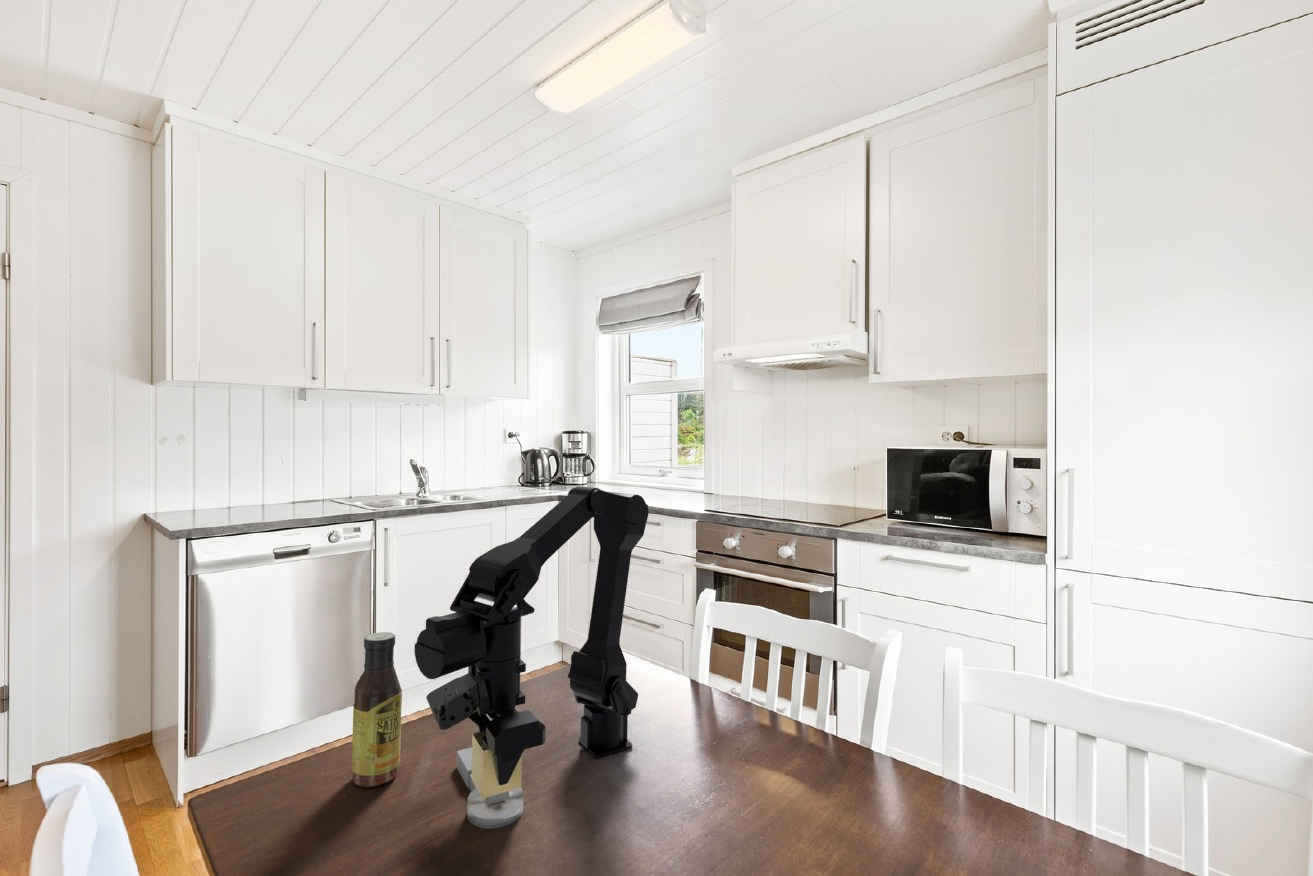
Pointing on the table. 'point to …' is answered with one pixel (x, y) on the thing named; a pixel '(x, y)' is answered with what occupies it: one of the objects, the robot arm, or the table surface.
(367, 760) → the sauce bottle
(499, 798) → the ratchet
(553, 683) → the table surface
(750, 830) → the table surface
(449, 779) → the table surface
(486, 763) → the wooden toy block
